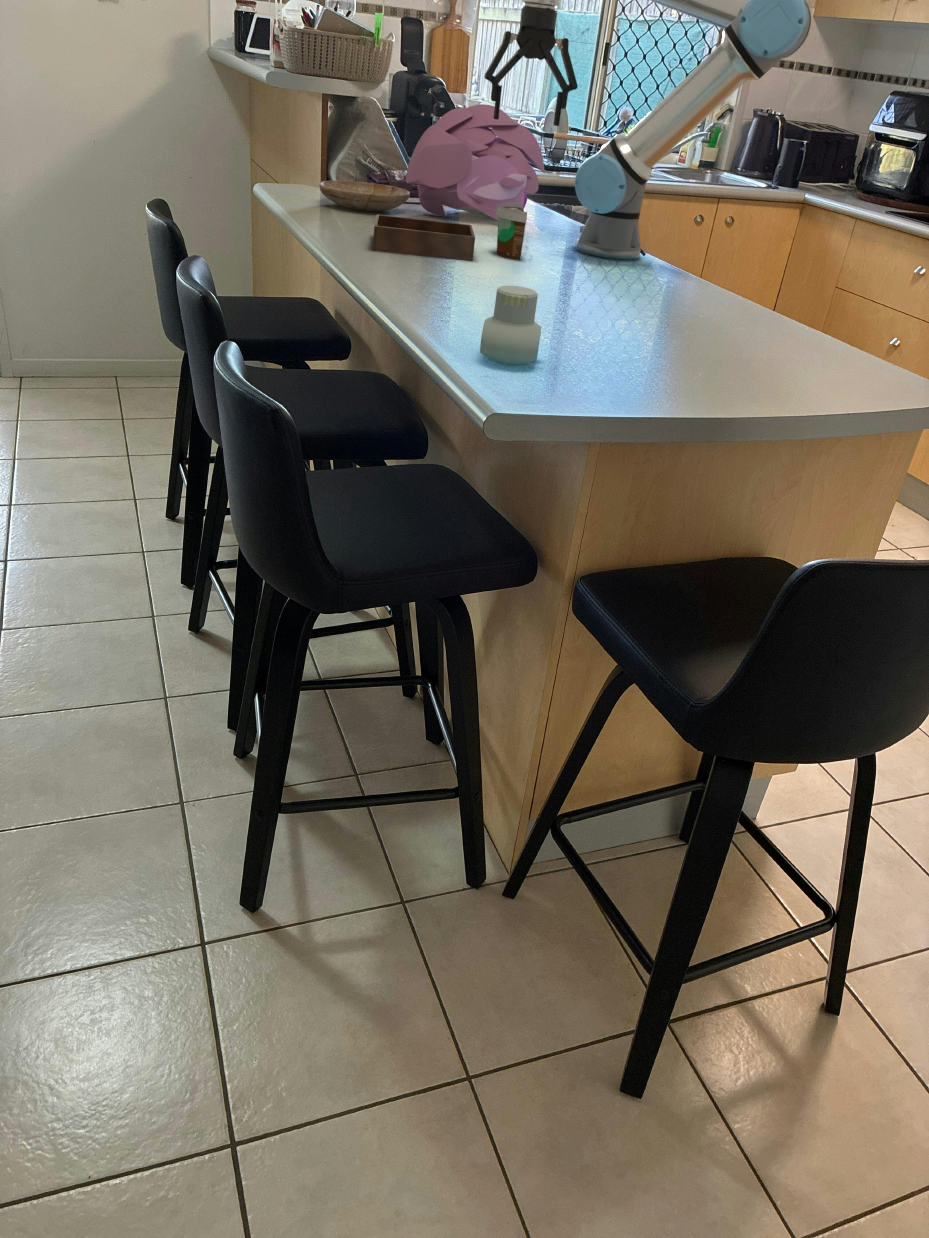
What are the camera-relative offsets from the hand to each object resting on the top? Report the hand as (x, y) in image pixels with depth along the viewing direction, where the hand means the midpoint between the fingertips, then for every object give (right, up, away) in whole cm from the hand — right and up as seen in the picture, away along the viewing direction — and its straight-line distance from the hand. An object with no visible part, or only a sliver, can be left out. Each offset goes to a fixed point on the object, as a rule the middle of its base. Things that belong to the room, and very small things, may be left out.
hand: (526, 122), depth 202 cm
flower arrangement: (-11, -2, +43) cm, 44 cm away
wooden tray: (-23, -29, -2) cm, 37 cm away
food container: (-5, -28, +3) cm, 29 cm away
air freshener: (-7, -72, -67) cm, 99 cm away
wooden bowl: (-40, -3, +36) cm, 54 cm away
